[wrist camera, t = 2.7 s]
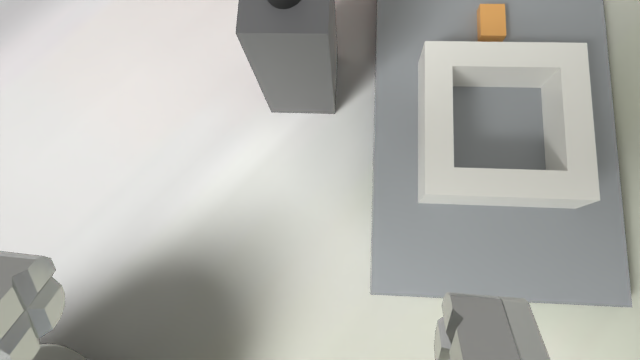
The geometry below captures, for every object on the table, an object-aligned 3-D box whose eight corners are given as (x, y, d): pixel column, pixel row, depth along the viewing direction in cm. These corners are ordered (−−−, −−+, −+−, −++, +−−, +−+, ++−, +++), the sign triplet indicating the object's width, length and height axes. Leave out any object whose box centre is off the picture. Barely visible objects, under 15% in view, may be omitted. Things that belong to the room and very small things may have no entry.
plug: (335, 113, 28) (325, 4, 17) (271, 112, 28) (222, 4, 17) (337, 54, 29) (329, -85, 18) (276, 54, 29) (231, -84, 18)
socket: (621, 306, 24) (665, 310, 21) (370, 294, 25) (373, 295, 22) (593, -2, 28) (626, -41, 25) (377, -3, 29) (380, -41, 26)
